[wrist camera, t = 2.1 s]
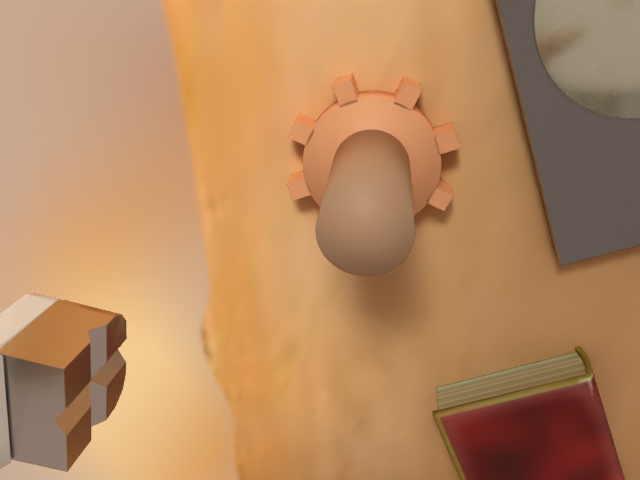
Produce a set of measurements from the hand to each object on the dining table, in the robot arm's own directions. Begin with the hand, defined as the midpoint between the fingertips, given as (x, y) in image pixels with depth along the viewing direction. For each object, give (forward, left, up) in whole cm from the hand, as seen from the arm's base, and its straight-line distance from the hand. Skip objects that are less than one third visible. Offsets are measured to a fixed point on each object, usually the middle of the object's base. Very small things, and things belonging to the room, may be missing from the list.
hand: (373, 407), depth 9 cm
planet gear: (+6, -3, -33) cm, 33 cm away
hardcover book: (+36, +2, -33) cm, 49 cm away
